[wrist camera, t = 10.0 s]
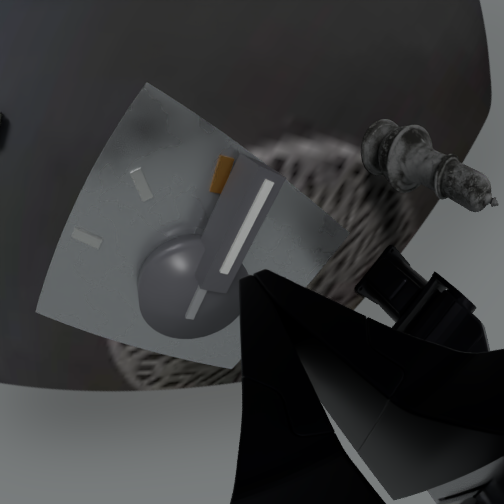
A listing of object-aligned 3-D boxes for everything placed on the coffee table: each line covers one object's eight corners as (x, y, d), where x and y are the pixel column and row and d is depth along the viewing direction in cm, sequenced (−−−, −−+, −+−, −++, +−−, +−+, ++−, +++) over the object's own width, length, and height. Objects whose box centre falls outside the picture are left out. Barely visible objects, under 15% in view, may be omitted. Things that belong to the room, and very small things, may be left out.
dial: (217, 326, 25) (231, 359, 22) (126, 313, 21) (129, 350, 18) (296, 177, 20) (327, 197, 17) (192, 132, 16) (206, 144, 13)
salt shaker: (382, 188, 26) (483, 254, 16) (347, 157, 22) (469, 224, 13) (411, 140, 24) (517, 190, 14) (381, 102, 21) (508, 144, 11)
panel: (342, 227, 26) (351, 234, 25) (227, 360, 30) (232, 370, 29) (146, 82, 14) (146, 82, 13) (38, 302, 19) (35, 313, 17)
